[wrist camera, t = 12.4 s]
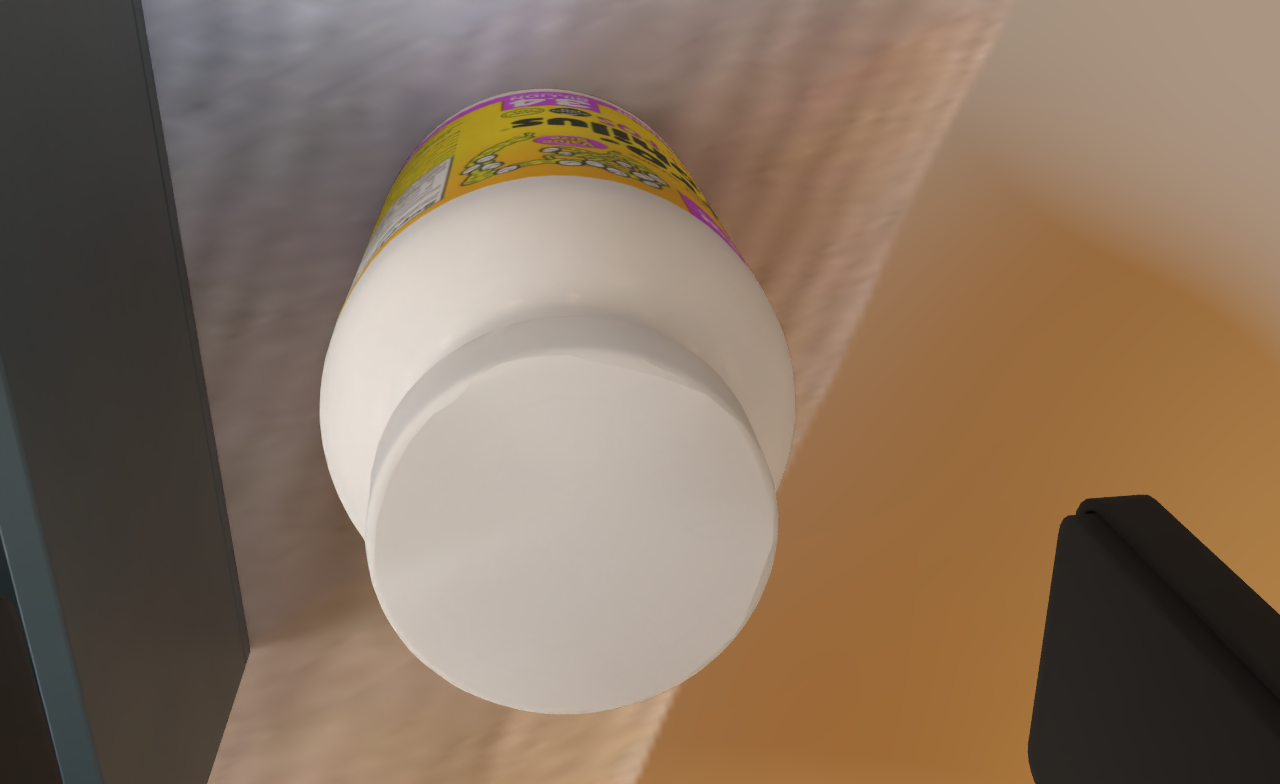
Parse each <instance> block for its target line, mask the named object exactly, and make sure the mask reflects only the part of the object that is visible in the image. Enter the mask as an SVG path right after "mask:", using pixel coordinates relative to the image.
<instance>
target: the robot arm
mask: <svg viewBox="0 0 1280 784" xmlns="http://www.w3.org/2000/svg"><path fill="white" fill-rule="evenodd" d="M1028 758H1029V764H1030V769H1031V773H1032V776H1033V778H1034V781H1035V783H1036V784H1280V615H1279V614H1278V613H1277V612H1276V611H1275V610H1274V609H1273V608H1272V607H1271V606H1270V605H1268V603H1266V602H1265V601H1264V600H1263V599H1262V598H1261V597H1260V596H1259V595H1258V594H1257V593H1256V592H1255V591H1254V590H1253V589H1251V588H1250V587H1249V586H1248V585H1247V584H1246V583H1245V582H1244V581H1243V580H1242V579H1241V578H1240V577H1239V576H1237V575H1236V574H1235V573H1234V572H1233V571H1232V570H1231V569H1230V568H1229V567H1228V566H1227V565H1226V564H1224V563H1223V562H1222V561H1221V560H1220V559H1219V558H1218V557H1217V556H1216V555H1215V554H1214V553H1213V552H1211V551H1210V550H1209V549H1208V548H1207V547H1206V546H1205V545H1204V544H1203V543H1202V542H1201V541H1200V540H1199V539H1198V538H1196V537H1195V536H1194V535H1193V534H1192V533H1191V532H1190V531H1189V530H1188V529H1186V527H1184V526H1183V525H1182V524H1181V523H1180V522H1179V521H1178V520H1177V519H1176V518H1175V517H1174V516H1173V515H1172V514H1171V513H1169V512H1168V511H1167V510H1166V509H1165V508H1164V507H1163V506H1162V505H1161V504H1160V503H1159V502H1158V501H1157V500H1155V499H1154V498H1152V497H1151V496H1149V495H1131V496H1118V497H1104V498H1091V499H1086V500H1085V501H1083V502H1082V503H1081V504H1080V506H1079V508H1078V509H1077V511H1076V515H1070V516H1067V517H1065V518H1064V519H1063V521H1062V523H1061V525H1060V529H1059V533H1058V540H1057V547H1056V555H1055V561H1054V568H1053V575H1052V582H1051V589H1050V596H1049V603H1048V609H1047V616H1046V623H1045V630H1044V637H1043V645H1042V651H1041V658H1040V665H1039V672H1038V679H1037V686H1036V693H1035V700H1034V707H1033V714H1032V721H1031V728H1030V735H1029V741H1028ZM0 784H62V781H61V777H60V773H59V770H58V766H57V762H56V758H55V754H54V750H53V747H52V743H51V739H50V735H49V731H48V728H47V724H46V720H45V716H44V712H43V709H42V705H41V701H40V697H39V693H38V689H37V686H36V682H35V678H34V674H33V670H32V667H31V663H30V659H29V655H28V651H27V648H26V644H25V640H24V636H23V632H22V628H21V625H20V621H19V617H18V614H17V611H16V608H15V606H14V604H13V603H12V601H11V600H9V599H7V598H0Z"/></svg>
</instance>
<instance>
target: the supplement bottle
mask: <svg viewBox="0 0 1280 784" xmlns="http://www.w3.org/2000/svg"><path fill="white" fill-rule="evenodd" d="M795 411H796V393H795V384H794V375H793V368H792V362H791V357H790V353H789V349H788V345H787V342H786V339H785V336H784V334H783V331H782V328H781V325H780V323H779V321H778V318H777V316H776V313H775V311H774V309H773V307H772V305H771V303H770V302H769V300H768V298H767V296H766V294H765V293H764V291H763V289H762V288H761V286H760V284H759V283H758V281H757V279H756V278H755V276H754V275H753V273H752V272H751V270H750V269H749V268H748V266H747V265H746V263H745V262H744V260H743V258H742V257H741V255H740V253H739V252H738V250H737V249H736V247H735V246H734V244H733V242H732V241H731V239H730V237H729V236H728V234H727V232H726V231H725V229H724V228H723V226H722V225H721V223H720V221H719V220H718V218H717V216H716V215H715V213H714V212H713V210H712V209H711V207H710V206H709V204H708V202H707V201H706V199H705V198H704V196H703V195H702V193H701V191H700V190H699V188H698V186H697V185H696V183H695V181H694V180H693V178H692V177H691V175H690V174H689V172H688V171H687V169H686V167H685V166H684V165H683V163H682V162H681V161H680V159H679V158H678V157H677V156H676V154H675V153H674V152H673V151H672V149H671V148H670V147H669V146H668V145H667V143H666V142H665V141H664V140H663V139H662V138H661V137H660V136H659V135H658V134H657V133H656V132H655V131H653V130H652V129H651V128H650V127H649V126H648V125H647V124H645V123H644V122H643V121H641V120H640V119H638V118H637V117H635V116H634V115H633V114H631V113H629V112H627V111H626V110H624V109H622V108H620V107H618V106H616V105H614V104H612V103H610V102H608V101H605V100H602V99H599V98H597V97H593V96H590V95H587V94H583V93H579V92H574V91H568V90H559V89H528V90H521V91H513V92H508V93H504V94H500V95H497V96H493V97H489V98H487V99H484V100H482V101H479V102H477V103H474V104H472V105H470V106H468V107H466V108H464V109H462V110H461V111H459V112H457V113H456V114H454V115H453V116H451V117H450V118H448V119H447V120H446V121H444V122H443V123H442V124H440V125H439V126H438V127H437V128H436V129H434V130H433V131H432V132H431V133H430V134H429V135H428V136H427V137H426V138H425V139H424V140H423V142H422V143H421V144H420V145H419V146H418V147H417V149H416V150H415V151H414V152H413V153H412V154H411V156H410V157H409V159H408V160H407V162H406V163H405V165H404V166H403V168H402V169H401V171H400V173H399V174H398V176H397V178H396V180H395V181H394V183H393V185H392V187H391V189H390V191H389V194H388V195H387V198H386V200H385V203H384V205H383V207H382V210H381V212H380V215H379V217H378V220H377V222H376V225H375V228H374V230H373V232H372V235H371V237H370V240H369V242H368V245H367V247H366V250H365V253H364V255H363V258H362V261H361V263H360V266H359V268H358V271H357V273H356V276H355V278H354V281H353V283H352V286H351V288H350V290H349V293H348V295H347V298H346V300H345V303H344V305H343V307H342V309H341V312H340V314H339V317H338V319H337V323H336V326H335V329H334V332H333V335H332V338H331V341H330V344H329V348H328V351H327V354H326V358H325V362H324V368H323V374H322V381H321V389H320V429H321V436H322V443H323V449H324V453H325V457H326V461H327V465H328V469H329V473H330V475H331V478H332V481H333V483H334V486H335V489H336V491H337V494H338V496H339V498H340V500H341V502H342V504H343V506H344V508H345V510H346V512H347V514H348V516H349V518H350V520H351V521H352V523H353V524H354V526H355V527H356V529H357V530H358V531H359V533H360V534H361V536H362V537H363V539H364V540H365V548H366V555H367V562H368V567H369V572H370V577H371V582H372V585H373V587H374V590H375V593H376V596H377V598H378V601H379V603H380V605H381V608H382V610H383V612H384V614H385V616H386V618H387V619H388V621H389V623H390V624H391V626H392V627H393V629H394V630H395V632H396V633H397V635H398V636H399V637H400V638H401V640H402V641H403V642H404V643H405V645H406V646H407V647H408V648H409V650H410V651H411V652H412V653H413V654H414V655H415V656H416V657H417V658H418V659H419V660H420V661H421V662H422V663H423V664H425V665H426V666H427V667H429V668H430V669H431V670H433V671H434V672H436V673H437V674H438V675H440V676H441V677H442V678H444V679H445V680H446V681H448V682H449V683H451V684H453V685H454V686H456V687H458V688H459V689H461V690H463V691H466V692H468V693H470V694H472V695H475V696H477V697H479V698H482V699H484V700H487V701H490V702H493V703H496V704H499V705H502V706H507V707H511V708H515V709H519V710H523V711H528V712H535V713H543V714H584V713H592V712H600V711H607V710H611V709H616V708H620V707H624V706H627V705H631V704H635V703H639V702H643V701H646V700H648V699H650V698H653V697H655V696H657V695H659V694H661V693H663V692H665V691H667V690H669V689H671V688H673V687H675V686H677V685H679V684H680V683H682V682H684V681H685V680H687V679H688V678H690V677H691V676H693V675H695V674H696V673H698V672H699V671H700V670H702V669H703V668H704V667H705V666H706V665H708V664H709V663H710V662H711V661H712V660H714V659H715V658H716V657H717V656H718V655H719V654H721V653H722V651H723V650H724V649H725V648H726V647H727V646H728V645H729V644H730V643H731V642H732V641H733V640H734V639H735V637H736V636H737V635H738V633H739V632H740V631H741V629H742V628H743V627H744V625H745V624H746V623H747V621H748V619H749V618H750V616H751V615H752V613H753V611H754V610H755V608H756V606H757V605H758V603H759V600H760V598H761V596H762V594H763V592H764V589H765V587H766V584H767V582H768V579H769V577H770V574H771V570H772V566H773V562H774V558H775V551H776V546H777V537H778V505H777V499H776V492H777V489H778V487H779V485H780V483H781V480H782V477H783V474H784V471H785V468H786V465H787V461H788V458H789V454H790V449H791V445H792V440H793V433H794V424H795Z"/></svg>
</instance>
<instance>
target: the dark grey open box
mask: <svg viewBox="0 0 1280 784" xmlns="http://www.w3.org/2000/svg"><path fill="white" fill-rule="evenodd" d="M0 598H7V599H9V600H11V601H12V603H13V604H14V606H15V608H16V611H17V614H18V617H19V621H20V625H21V628H22V632H23V636H24V640H25V644H26V648H27V651H28V655H29V659H30V663H31V667H32V670H33V674H34V678H35V682H36V686H37V689H38V693H39V697H40V701H41V705H42V709H43V712H44V716H45V720H46V724H47V728H48V731H49V735H50V739H51V743H52V747H53V750H54V754H55V758H56V762H57V766H58V770H59V773H60V777H61V781H62V784H207V782H208V779H209V776H210V773H211V770H212V767H213V764H214V761H215V757H216V754H217V751H218V748H219V745H220V742H221V739H222V736H223V733H224V730H225V727H226V724H227V721H228V718H229V715H230V712H231V709H232V706H233V703H234V699H235V696H236V693H237V690H238V687H239V684H240V681H241V678H242V675H243V672H244V669H245V665H246V663H247V660H248V657H249V654H250V646H249V640H248V634H247V628H246V622H245V616H244V610H243V604H242V598H241V592H240V587H239V581H238V575H237V569H236V563H235V557H234V551H233V545H232V539H231V533H230V527H229V521H228V515H227V509H226V503H225V498H224V492H223V486H222V480H221V474H220V468H219V462H218V456H217V450H216V444H215V438H214V432H213V426H212V420H211V414H210V409H209V403H208V397H207V391H206V385H205V379H204V373H203V367H202V361H201V355H200V349H199V343H198V337H197V331H196V326H195V320H194V314H193V308H192V302H191V296H190V290H189V284H188V278H187V272H186V266H185V260H184V254H183V248H182V242H181V237H180V231H179V225H178V219H177V213H176V207H175V201H174V195H173V189H172V183H171V177H170V171H169V165H168V159H167V154H166V148H165V142H164V136H163V130H162V124H161V118H160V112H159V106H158V100H157V94H156V88H155V82H154V76H153V70H152V65H151V59H150V53H149V47H148V41H147V35H146V29H145V23H144V17H143V11H142V5H141V0H0Z"/></svg>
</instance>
